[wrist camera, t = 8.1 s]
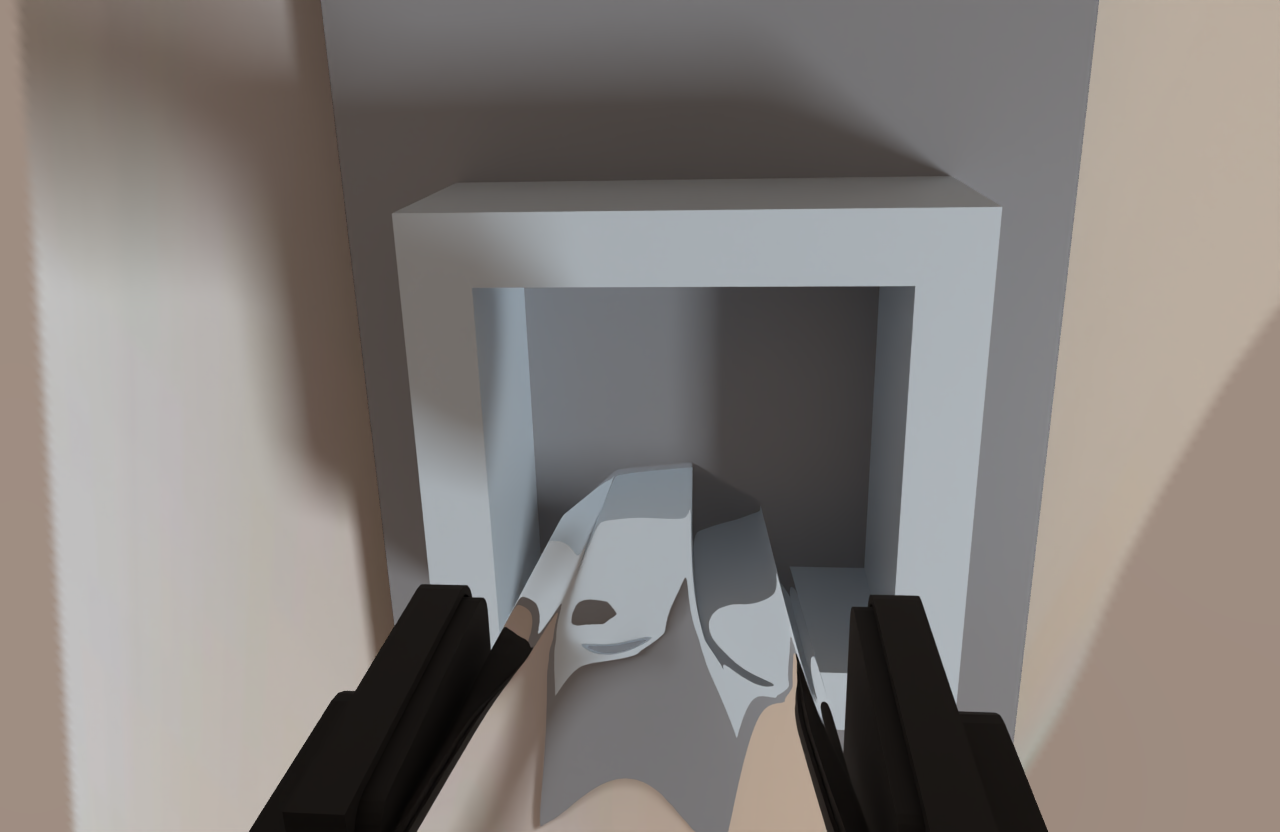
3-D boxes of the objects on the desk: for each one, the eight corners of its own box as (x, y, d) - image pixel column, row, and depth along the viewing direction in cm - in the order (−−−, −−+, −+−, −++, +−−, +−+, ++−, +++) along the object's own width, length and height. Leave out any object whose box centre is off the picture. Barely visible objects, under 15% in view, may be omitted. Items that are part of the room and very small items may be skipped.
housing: (331, -107, 20) (196, -158, 15) (1093, -138, 18) (1220, -205, 13) (428, 764, 26) (357, 927, 21) (992, 787, 25) (1053, 966, 20)
